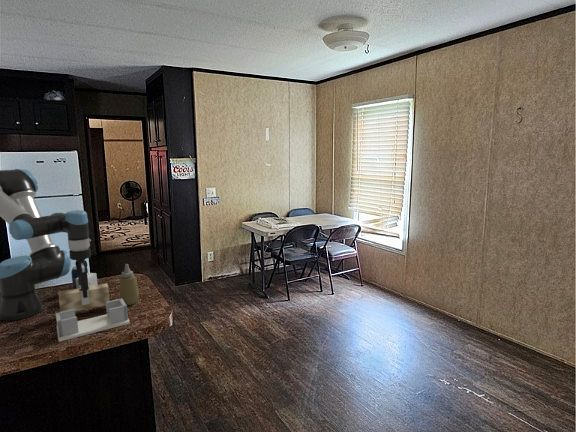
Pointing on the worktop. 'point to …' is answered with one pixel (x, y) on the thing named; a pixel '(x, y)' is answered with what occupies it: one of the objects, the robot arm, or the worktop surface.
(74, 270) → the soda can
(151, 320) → the worktop surface
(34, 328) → the worktop surface
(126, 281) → the squeeze bottle
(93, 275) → the small box
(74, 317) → the bracket board
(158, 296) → the worktop surface
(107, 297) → the rail
